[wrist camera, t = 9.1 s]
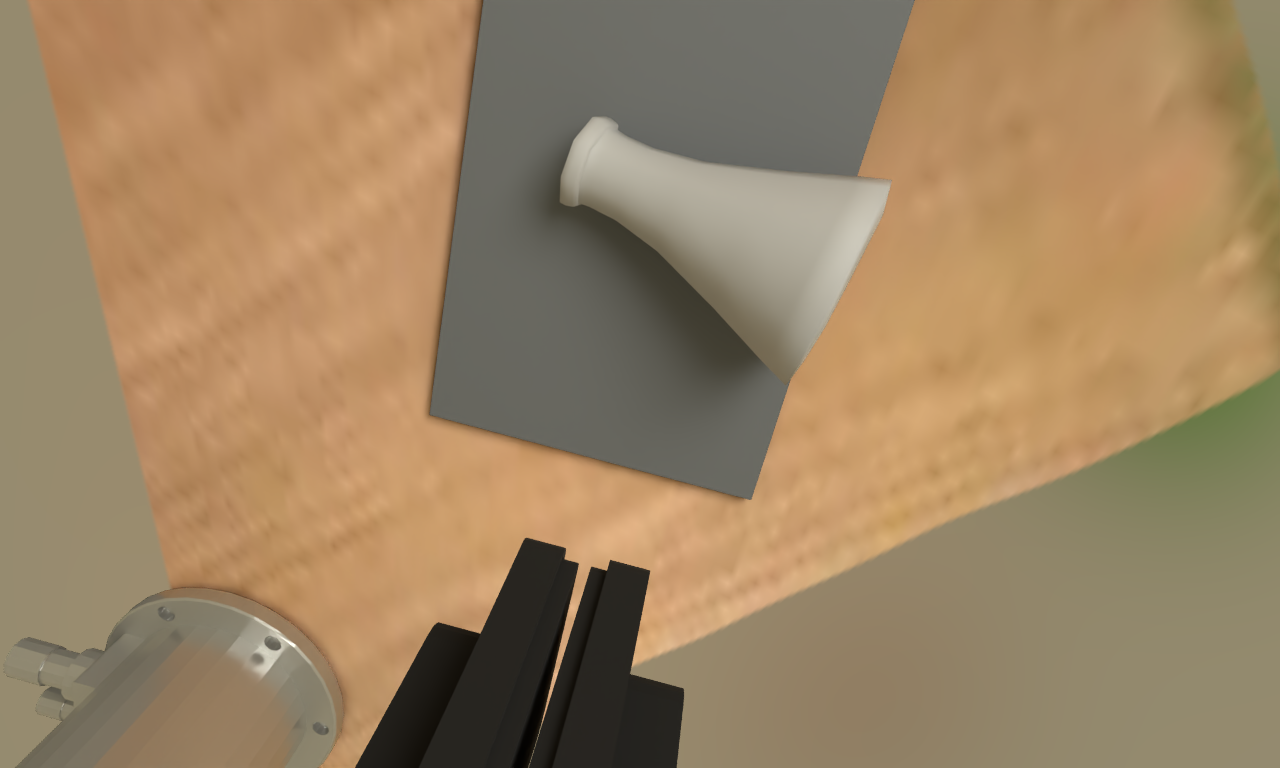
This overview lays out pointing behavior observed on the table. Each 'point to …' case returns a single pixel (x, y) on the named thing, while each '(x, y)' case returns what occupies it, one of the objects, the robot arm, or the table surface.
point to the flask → (735, 232)
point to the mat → (607, 251)
